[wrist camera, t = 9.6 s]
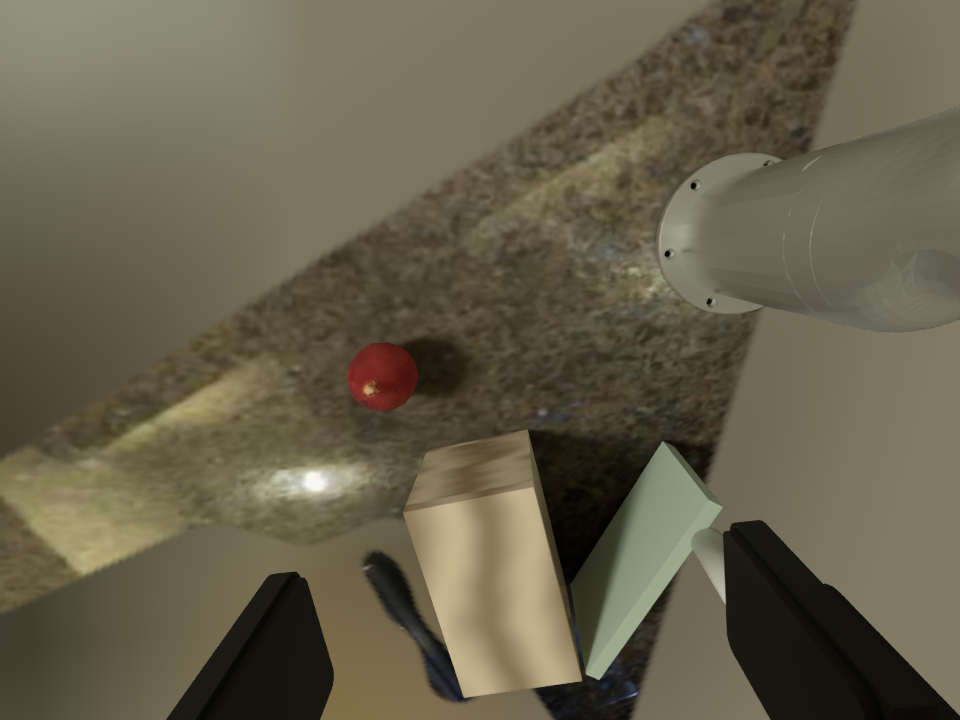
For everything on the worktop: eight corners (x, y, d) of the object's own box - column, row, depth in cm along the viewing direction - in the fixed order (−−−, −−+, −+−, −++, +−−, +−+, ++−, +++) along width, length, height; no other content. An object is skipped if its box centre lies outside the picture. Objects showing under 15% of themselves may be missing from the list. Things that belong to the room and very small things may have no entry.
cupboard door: (690, 454, 42) (818, 602, 25) (595, 596, 47) (647, 805, 29) (662, 441, 42) (771, 580, 25) (570, 584, 47) (606, 788, 29)
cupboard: (527, 429, 43) (533, 487, 33) (566, 586, 47) (582, 680, 37) (427, 450, 44) (402, 512, 34) (473, 602, 48) (464, 697, 38)
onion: (400, 406, 43) (376, 442, 35) (351, 370, 43) (316, 398, 35) (436, 360, 42) (420, 387, 34) (386, 322, 41) (358, 340, 34)
